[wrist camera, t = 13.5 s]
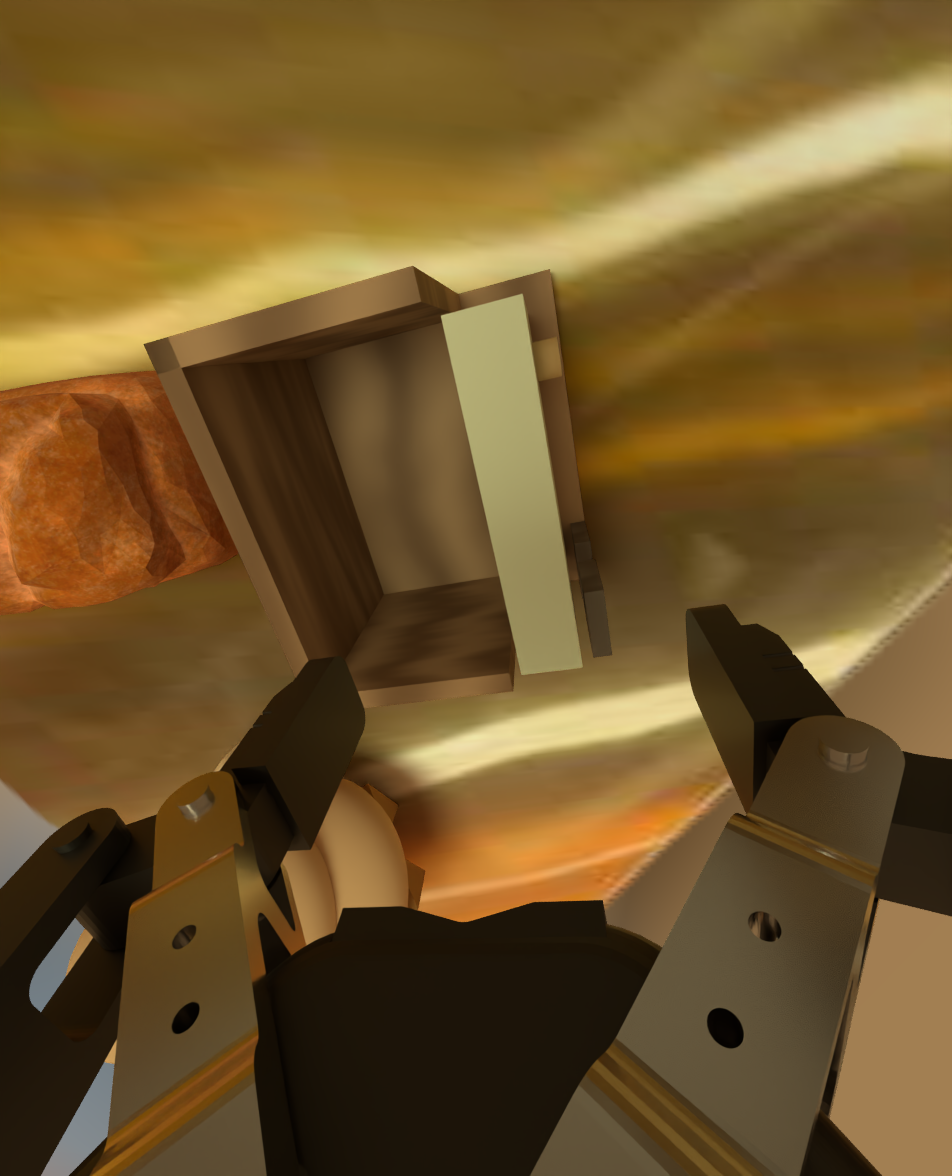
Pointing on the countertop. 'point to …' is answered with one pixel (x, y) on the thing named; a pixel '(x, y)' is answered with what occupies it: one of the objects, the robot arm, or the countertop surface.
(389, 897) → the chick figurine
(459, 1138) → the robot arm
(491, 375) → the door
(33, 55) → the countertop surface
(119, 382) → the bread
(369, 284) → the cabinet
